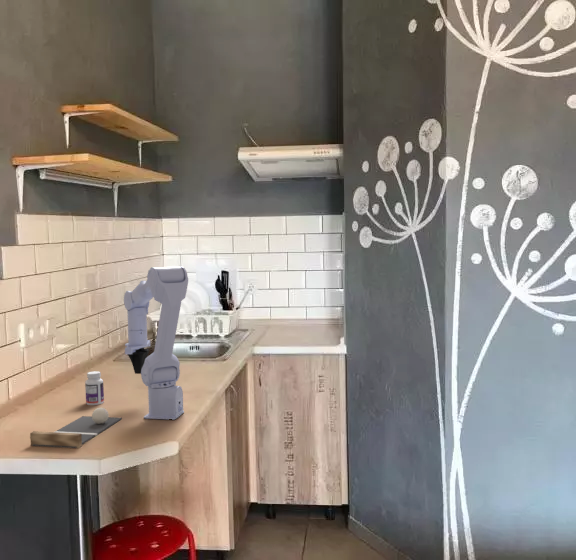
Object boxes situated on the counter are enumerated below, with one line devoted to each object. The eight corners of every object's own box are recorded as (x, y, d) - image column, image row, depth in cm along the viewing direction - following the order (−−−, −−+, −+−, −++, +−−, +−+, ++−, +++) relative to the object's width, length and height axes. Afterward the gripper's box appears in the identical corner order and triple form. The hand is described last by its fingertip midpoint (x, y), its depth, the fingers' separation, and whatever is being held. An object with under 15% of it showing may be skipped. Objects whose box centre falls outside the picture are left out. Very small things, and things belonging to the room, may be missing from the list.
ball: (98, 428, 178) (112, 422, 178) (90, 423, 174) (104, 416, 174) (96, 414, 180) (110, 408, 180) (87, 409, 177) (101, 402, 177)
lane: (121, 419, 183) (121, 417, 183) (76, 448, 158) (76, 446, 158) (82, 417, 185) (82, 416, 185) (32, 445, 161) (32, 444, 161)
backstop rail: (81, 446, 160) (81, 433, 159) (78, 448, 158) (78, 435, 158) (34, 443, 162) (33, 431, 162) (30, 445, 161) (30, 433, 160)
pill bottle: (97, 400, 204) (96, 370, 204) (107, 402, 201) (106, 372, 200) (82, 403, 200) (81, 373, 199) (92, 406, 197) (91, 375, 196)
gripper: (135, 326, 206) (136, 368, 207) (114, 333, 192) (116, 378, 193) (156, 326, 205) (157, 368, 206) (137, 333, 190) (138, 378, 191)
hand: (138, 373), depth 199 cm, fingers closed
